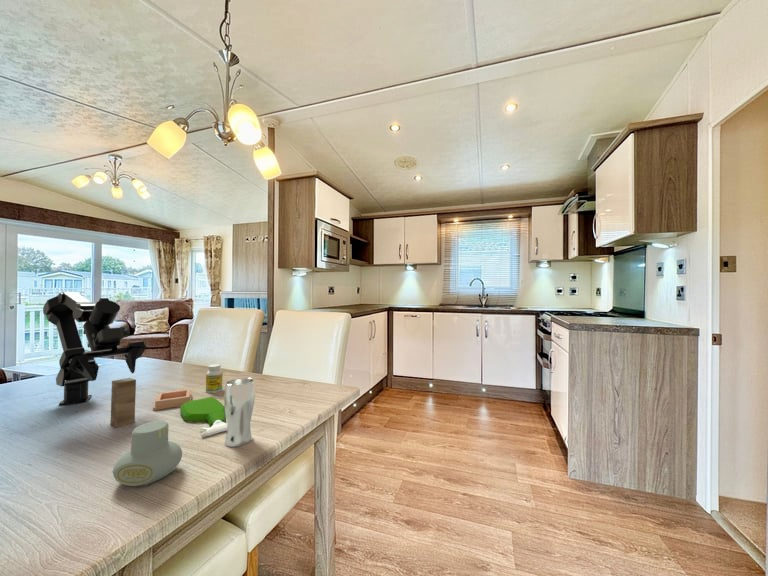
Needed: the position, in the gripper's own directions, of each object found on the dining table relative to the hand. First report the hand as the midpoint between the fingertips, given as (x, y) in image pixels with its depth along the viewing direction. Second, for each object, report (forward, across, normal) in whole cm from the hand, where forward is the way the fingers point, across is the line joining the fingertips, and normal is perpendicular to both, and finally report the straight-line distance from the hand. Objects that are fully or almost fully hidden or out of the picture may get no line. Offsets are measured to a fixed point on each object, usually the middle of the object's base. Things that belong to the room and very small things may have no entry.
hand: (114, 376), depth 87 cm
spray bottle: (+26, +14, -7) cm, 30 cm away
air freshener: (+38, -8, -20) cm, 43 cm away
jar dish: (+10, +16, +8) cm, 20 cm away
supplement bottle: (+10, +29, +8) cm, 32 cm away
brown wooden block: (+13, 0, +4) cm, 14 cm away
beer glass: (+39, +10, -21) cm, 46 cm away
